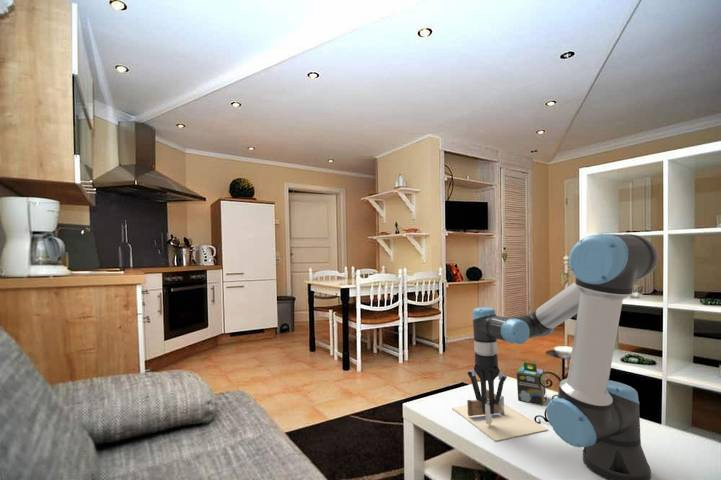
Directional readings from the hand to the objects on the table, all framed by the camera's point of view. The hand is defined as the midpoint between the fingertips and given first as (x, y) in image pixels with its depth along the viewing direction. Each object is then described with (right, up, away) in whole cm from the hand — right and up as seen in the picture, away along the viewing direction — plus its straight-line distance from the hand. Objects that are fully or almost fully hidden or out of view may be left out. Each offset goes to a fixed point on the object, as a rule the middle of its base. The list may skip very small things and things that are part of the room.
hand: (489, 422), depth 120 cm
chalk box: (+26, -2, +22) cm, 34 cm away
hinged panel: (+1, -1, +7) cm, 7 cm away
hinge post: (+8, -2, +8) cm, 11 cm away
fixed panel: (+6, -2, +14) cm, 15 cm away
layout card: (+5, -2, +6) cm, 8 cm away
